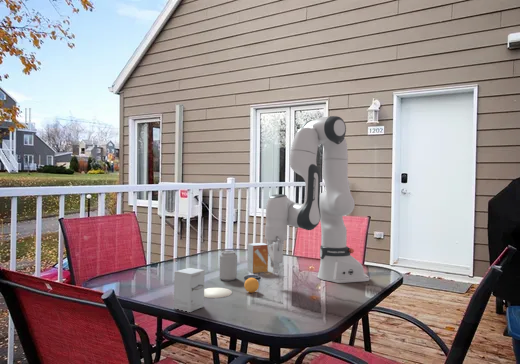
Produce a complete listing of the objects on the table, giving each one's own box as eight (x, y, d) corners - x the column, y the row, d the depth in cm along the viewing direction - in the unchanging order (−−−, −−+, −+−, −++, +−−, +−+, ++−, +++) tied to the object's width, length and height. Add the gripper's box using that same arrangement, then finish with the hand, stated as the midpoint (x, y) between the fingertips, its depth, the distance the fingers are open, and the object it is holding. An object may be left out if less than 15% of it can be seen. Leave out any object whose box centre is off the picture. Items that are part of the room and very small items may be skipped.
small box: (252, 273, 178) (253, 245, 178) (247, 270, 184) (247, 243, 184) (268, 271, 182) (268, 244, 182) (262, 269, 188) (262, 242, 188)
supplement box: (189, 313, 124) (190, 274, 124) (173, 308, 128) (173, 271, 128) (204, 307, 130) (205, 269, 130) (188, 303, 134) (188, 266, 134)
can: (234, 281, 164) (234, 253, 164) (217, 280, 165) (217, 252, 165) (238, 277, 171) (238, 250, 171) (222, 276, 172) (222, 249, 172)
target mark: (231, 287, 154) (231, 287, 154) (232, 297, 141) (232, 297, 141) (199, 288, 153) (199, 287, 153) (196, 298, 140) (196, 297, 140)
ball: (258, 290, 151) (258, 276, 151) (259, 294, 145) (259, 279, 145) (243, 290, 150) (244, 276, 150) (244, 294, 145) (244, 279, 145)
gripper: (287, 239, 143) (285, 276, 143) (280, 232, 163) (278, 264, 163) (270, 238, 142) (269, 275, 142) (265, 231, 163) (264, 264, 162)
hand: (274, 269), depth 153 cm, fingers open, 8 cm apart
